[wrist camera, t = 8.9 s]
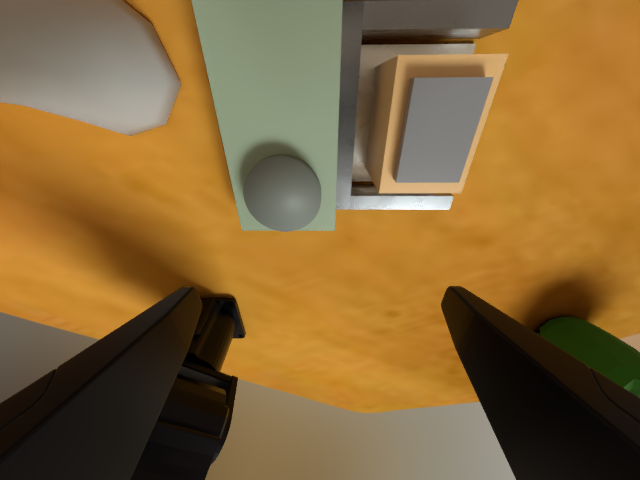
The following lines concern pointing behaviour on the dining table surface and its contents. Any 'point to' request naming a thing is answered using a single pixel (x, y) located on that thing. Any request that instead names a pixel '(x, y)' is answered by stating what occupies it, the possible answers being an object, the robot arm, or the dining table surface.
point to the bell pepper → (596, 350)
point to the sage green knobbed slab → (276, 106)
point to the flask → (86, 63)
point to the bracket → (360, 60)
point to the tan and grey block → (429, 120)
